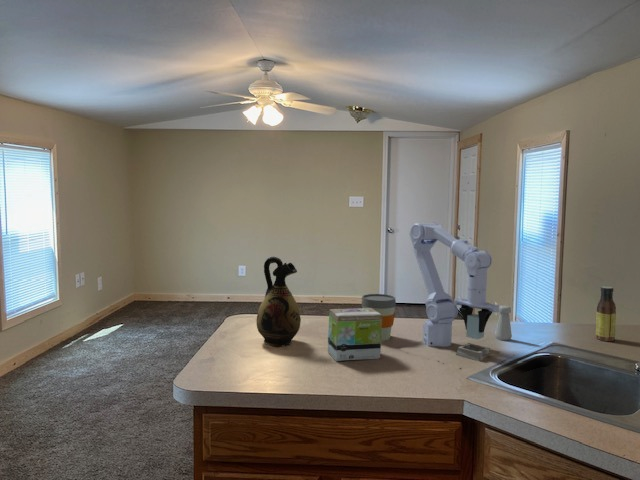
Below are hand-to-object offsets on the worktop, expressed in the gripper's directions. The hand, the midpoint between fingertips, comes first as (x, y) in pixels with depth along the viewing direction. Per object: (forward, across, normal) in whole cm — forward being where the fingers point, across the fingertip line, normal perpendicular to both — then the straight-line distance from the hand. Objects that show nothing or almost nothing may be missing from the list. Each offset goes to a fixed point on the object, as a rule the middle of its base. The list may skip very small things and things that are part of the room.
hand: (474, 330), depth 156 cm
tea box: (+10, +28, +27) cm, 40 cm away
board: (+9, 0, -3) cm, 10 cm away
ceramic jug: (+9, +55, +36) cm, 67 cm away
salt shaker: (+9, +2, -26) cm, 28 cm away
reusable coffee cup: (+9, +35, +5) cm, 37 cm away
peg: (+2, 0, 0) cm, 2 cm away
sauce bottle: (+10, -23, -57) cm, 62 cm away
